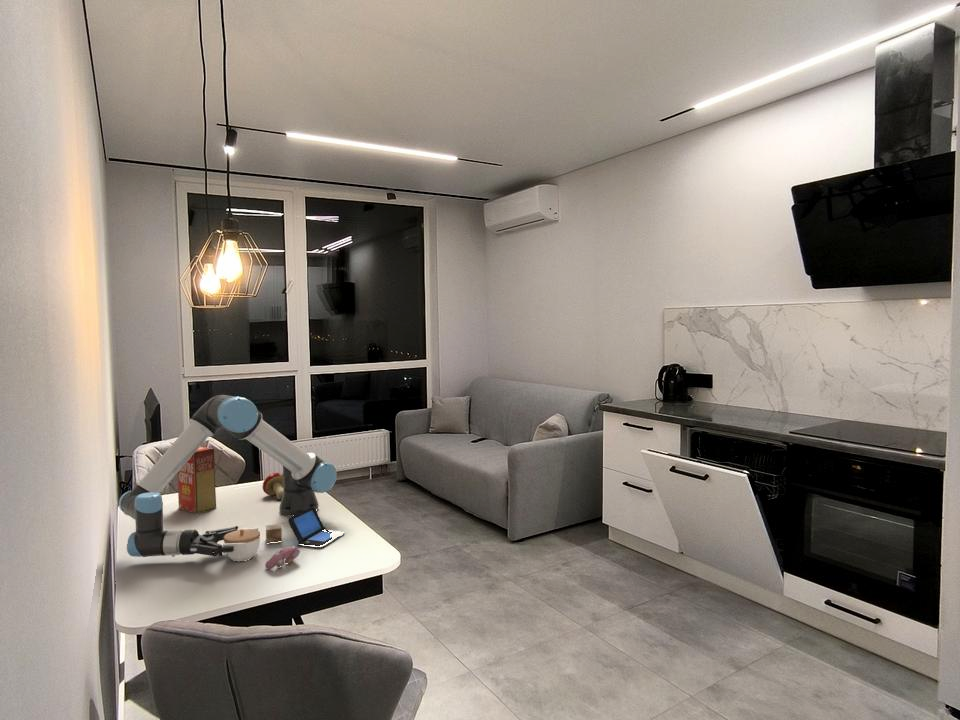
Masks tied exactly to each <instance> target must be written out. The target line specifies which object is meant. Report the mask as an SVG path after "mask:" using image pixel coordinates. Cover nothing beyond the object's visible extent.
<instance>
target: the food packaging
mask: <svg viewBox="0 0 960 720" xmlns="http://www.w3.org/2000/svg"><path fill="white" fill-rule="evenodd" d="M215 464H216V463H215V448H214V447H208V446H207V447H206V446H202V445H201V446H200V447H199V448H198V449H197V451H196V452H195V453H194V454H193V455H192V457H191V458H190V459H189V460H188V461H187V462H186V464H185V465H184V466H183V467H182V468H181V469H180V471H179V472H178V473H177V474H176V476H177V493H178V494H177V495H178V496H177V497H178V509H177V510H181V509H182V511H185V512H189V513H192V512H193V514H197V513H198V514H200V513H204V511H205V512H208V511H211V509H212V510H215V509H217V496H216V495H217V493H216V473H215V472H216V470H215V468H216V467H215Z"/></svg>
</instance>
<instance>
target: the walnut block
mask: <svg viewBox="0 0 960 720" xmlns="http://www.w3.org/2000/svg"><path fill="white" fill-rule="evenodd" d="M282 535H283V533H282V523H277V524H268V525H265V543H270V542H278V541H282V542H283V539H282V538H283V536H282Z"/></svg>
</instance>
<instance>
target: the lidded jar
mask: <svg viewBox="0 0 960 720" xmlns="http://www.w3.org/2000/svg"><path fill="white" fill-rule="evenodd" d="M239 529H240V530H237V531H233V532H230V533H228V534H226V535H225V536H224V540H223V542H224V543H223V544H226V543H246V552H239V553H225V554H226V556H227V557H228V558H229V559H231V560H233V561H232V562H234V561H238V562H237V563H240V562H239V561H245V560H248V559H251V558H252V557H253V558H254V556H255V555H256V554H257V552H258V550H259V548H260V539H261V538H260V536H261V532H260V530H259V529H258V530H254V529H246V528H239ZM253 558H252V559H253ZM252 559H251V560H252ZM248 561H249V560H248ZM245 562H246V561H245Z"/></svg>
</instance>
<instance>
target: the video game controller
mask: <svg viewBox="0 0 960 720" xmlns="http://www.w3.org/2000/svg"><path fill="white" fill-rule="evenodd" d="M300 553H301V550H300V549H299V548H298V547H296V546H294V545H292V546H288V547H287V546H286V547H283V548H281V549H280V550H279V551H276V552H275V553H274V554H273V555H272V556H271V557H270V559H268V560H267V561H266V562H265V565H264V567H265V569H266V568H268V569H267V570H272V569H274V568H275V567H277V568H278V567H280V566H282V565H283V566H285V564H286V563H290V562H291V561H292V562H294V560H295V559H296V558H297V557H298V556H299V555H300ZM292 562H291V563H292ZM291 563H290V564H291Z"/></svg>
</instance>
